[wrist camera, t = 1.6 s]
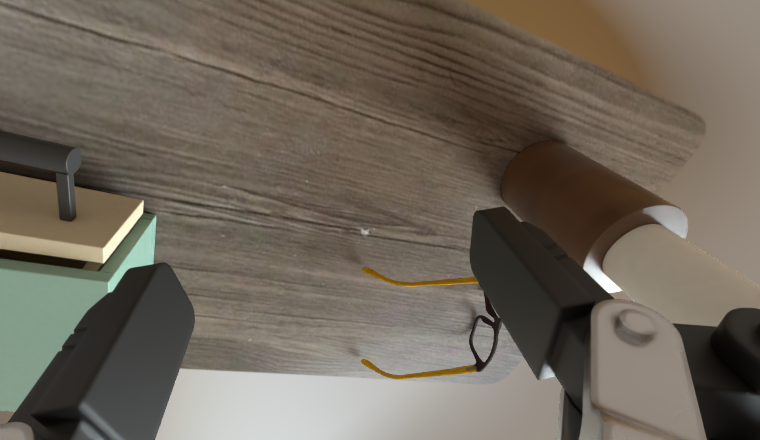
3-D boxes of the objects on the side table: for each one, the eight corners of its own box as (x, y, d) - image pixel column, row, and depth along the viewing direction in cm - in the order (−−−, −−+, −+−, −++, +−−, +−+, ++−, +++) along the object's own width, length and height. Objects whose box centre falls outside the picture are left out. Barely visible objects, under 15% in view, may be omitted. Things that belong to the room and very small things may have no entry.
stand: (487, 176, 30) (567, 253, 20) (558, 123, 28) (679, 181, 19) (519, 224, 33) (599, 308, 24) (584, 179, 32) (695, 251, 23)
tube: (593, 253, 21) (800, 435, 12) (661, 210, 20) (940, 374, 11) (611, 288, 23) (797, 464, 14) (673, 251, 22) (913, 415, 13)
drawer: (-69, 84, 19) (-197, 112, 14) (146, 138, 22) (102, 175, 17) (-15, 304, 27) (-85, 371, 22) (138, 319, 30) (106, 379, 25)
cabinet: (-45, 176, 22) (-183, 245, 16) (156, 214, 26) (108, 281, 20) (-10, 319, 28) (-100, 409, 22) (149, 333, 32) (111, 413, 26)
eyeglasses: (475, 343, 43) (489, 372, 39) (360, 359, 40) (365, 391, 37) (501, 253, 35) (521, 279, 32) (361, 265, 32) (367, 295, 29)
